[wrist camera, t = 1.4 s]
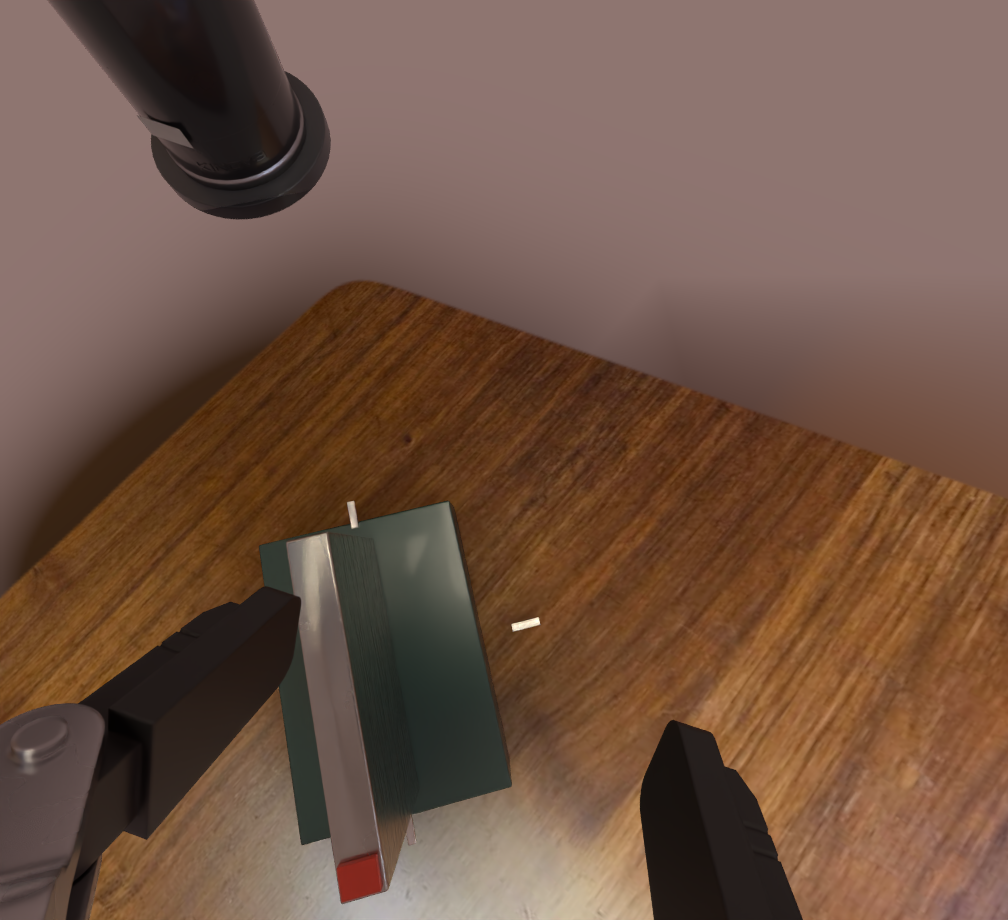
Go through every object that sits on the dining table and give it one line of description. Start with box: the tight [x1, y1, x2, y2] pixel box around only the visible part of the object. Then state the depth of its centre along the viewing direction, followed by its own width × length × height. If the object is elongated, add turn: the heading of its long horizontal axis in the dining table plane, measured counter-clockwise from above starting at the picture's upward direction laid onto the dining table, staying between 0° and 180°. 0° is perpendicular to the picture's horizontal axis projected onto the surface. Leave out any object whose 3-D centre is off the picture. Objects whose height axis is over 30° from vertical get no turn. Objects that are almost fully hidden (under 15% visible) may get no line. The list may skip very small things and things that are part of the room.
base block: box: [259, 501, 540, 845], centre depth 25 cm, size 16×16×3 cm
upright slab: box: [286, 532, 420, 904], centre depth 20 cm, size 12×2×7 cm, turn 14°
